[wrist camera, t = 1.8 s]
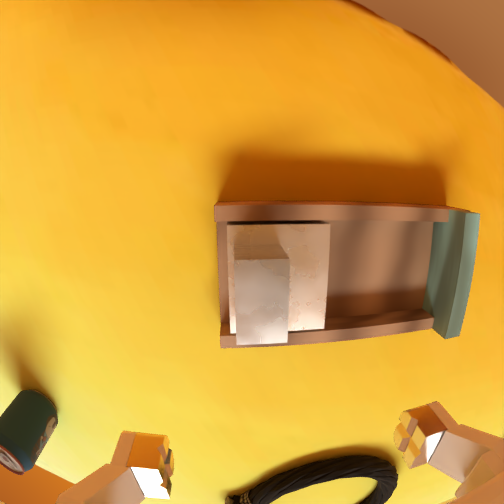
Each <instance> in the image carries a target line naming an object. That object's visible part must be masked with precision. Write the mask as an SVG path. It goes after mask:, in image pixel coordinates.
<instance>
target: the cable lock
mask: <svg viewBox="0 0 504 504" xmlns="http://www.w3.org/2000/svg"><path fill="white" fill-rule="evenodd" d="M352 477H369V478H373V479H375V480H377V481H378V485H377V488H376V489H375V490H374V492H373V493H372V494H371V495H370V496H369V497H368V498H367V499H365V500H364V501H363V502H361V503H360V504H384V503H385V502H386V501H387V500H388V499H389V498H390V497H391V495H392V493H393V491H394V490H395V488H396V487H397V480H398V474H397V473H396V468H395V466H391V464H390V463H389V462H388V461H385V460H381V459H379V458H377V457H371V456H362V457H359V456H348V457H344V458H339V459H330V460H325V461H320V462H315V463H312V464H308V465H304V466H301V467H299V468H296V469H293V470H290V471H287V472H284V473H282V474H279V475H277V476H274V477H272V478H271V479H269V480H268V481H266V482H264V483H262V484H260V485H258V486H257V487H255V488H254V489H253V490H252V491H251V490H249V491H246V492H245V494H244V493H243V494H242V495H241V496H237V495H234V497H233V499H231V498H230V497H227V498H226V499H225V504H269V503H271V502H273V501H274V500H276V499H278V498H279V497H281V496H282V495H284V494H287V493H290V492H293V491H296V490H299V489H302V488H305V487H308V486H310V485H314V484H318V483H323V482H327V481H331V480H335V479H339V478H352Z"/></svg>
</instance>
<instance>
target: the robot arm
mask: <svg viewBox="0 0 504 504" xmlns="http://www.w3.org/2000/svg"><path fill="white" fill-rule="evenodd" d="M399 420H400V421H401V423H400V424H399V425H398V426H397V427H396V428H395V431H394V442H395V445H396V447H397V449H398V450H400V451H402V452H404V453H403V459H404V461H405V462H406V464H407V466H408V467H409V469H411V468H414V467H417V466H420V465H423V464H425V463H428V462H429V463H428V464H429V465H431V466H433V467H435V468H436V469H438V470H440V471H441V472H443V473H445V474H446V475H448V476H450V477H452V478H454V479H455V480H457V481H459V482H461V483H462V484H461V485H460V487H459V488H458V489H457V491H456V493H455V495H456V497H457V499H455V500H453V501H451V502H449V503H447V504H504V439H503V438H500V437H497V436H494V435H491V434H488V433H485V432H482V431H479V430H476V429H474V428H471V427H468V426H465V425H463V424H460V425H458V424H457V423H456V421H455V420H454V419H453V418H452V417H451V416H450V414H449V413H448V412H447V411H446V410H445V409H444V408H443V406H442V405H441V404H440V403H439V402H437V401H435V402H432V403H429V404H426V405H423V406H419V407H416V408H413V409H409V410H406V411H403V412H402V413H401V415H400V418H399ZM173 470H174V458H173V453H172V450H171V449H169V439H168V436H166V435H158V434H148V433H140V432H131V431H123V432H122V433H121V435H120V438H119V441H118V443H117V446H116V449H115V452H114V455H113V458H112V461H111V463H110V464H105V465H104V466H102V467H101V468H99V469H98V470H96V471H95V472H93V473H92V474H90V475H89V476H87V477H86V478H84V479H83V480H81V481H80V482H78V483H77V484H75V485H74V486H72V487H71V488H69V489H68V490H66V491H64V492H63V493H61V494H60V495H59V496H58V499H57V501H56V503H55V504H140V503H141V502H142V501H143V500H144V499H145V497H153V498H165V499H170V492H171V485H172V484H171V481H170V478H169V477H171V476H172V475H173ZM0 504H6V503H4V502H2V501H0Z"/></svg>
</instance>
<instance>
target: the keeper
mask: <svg viewBox="0 0 504 504" xmlns="http://www.w3.org/2000/svg"><path fill="white" fill-rule="evenodd" d="M329 249H330V224H329V223H327V222H325V221H323V220H273V221H227V254H228V284H229V310H230V333H236V343H237V345H249V344H273V343H287V339H288V331H297V330H312V329H324V323H325V311H326V298H327V284H328V268H329Z"/></svg>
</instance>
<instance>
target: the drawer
mask: <svg viewBox="0 0 504 504" xmlns="http://www.w3.org/2000/svg"><path fill="white" fill-rule="evenodd" d="M214 215H215V222H217V248H218V273H219V295H220V315H221V329H220V345H221V348H245V347H269V346H287V345H302V344H314V343H326V342H336V341H346V340H355V339H363V338H371V337H379V336H386V335H393V334H400V333H407V332H413V331H419V330H425V329H431V328H432V329H434V330H435V331H436V332H437V333H438V334H440V335H441V336H442V337H443V338H444V339H448V338H452V337H457V336H459V335H460V331H461V327H462V323H463V319H464V315H465V311H466V306H467V302H468V297H469V292H470V287H471V281H472V276H473V270H474V263H475V256H476V249H477V240H478V231H479V220H480V214H479V213H474V212H470V211H469V210H464V209H459V208H454V207H449V206H437V205H421V204H401V203H377V202H343V201H234V202H217V203H216V204H215V205H214ZM273 220H323V221H325V222H327V223H329V224H330V249H329V268H328V284H327V298H326V311H325V323H324V329H312V330H297V331H288V339H287V343H273V344H249V345H237V343H236V333H230V310H229V284H228V254H227V221H273Z"/></svg>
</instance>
